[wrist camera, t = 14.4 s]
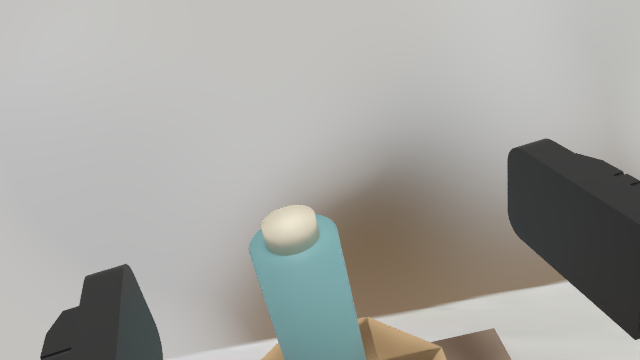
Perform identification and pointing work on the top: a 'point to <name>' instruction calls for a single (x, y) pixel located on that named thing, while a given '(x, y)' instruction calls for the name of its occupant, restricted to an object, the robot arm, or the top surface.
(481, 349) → the board
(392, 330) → the tan octagonal ring
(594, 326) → the top surface
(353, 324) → the teal bottle
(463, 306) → the top surface
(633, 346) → the top surface
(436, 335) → the top surface
